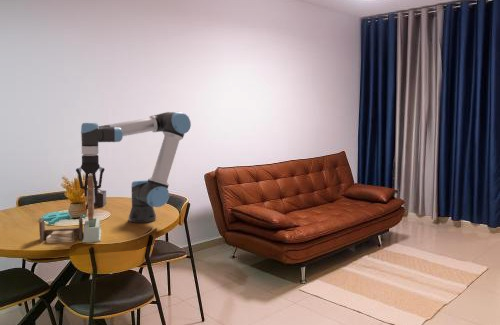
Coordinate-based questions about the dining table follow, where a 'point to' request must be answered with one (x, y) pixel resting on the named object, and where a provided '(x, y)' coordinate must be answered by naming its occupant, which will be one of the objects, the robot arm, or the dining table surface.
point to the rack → (46, 233)
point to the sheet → (90, 197)
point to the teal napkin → (56, 217)
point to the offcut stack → (61, 237)
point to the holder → (92, 230)
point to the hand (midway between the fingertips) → (91, 202)
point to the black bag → (100, 198)
